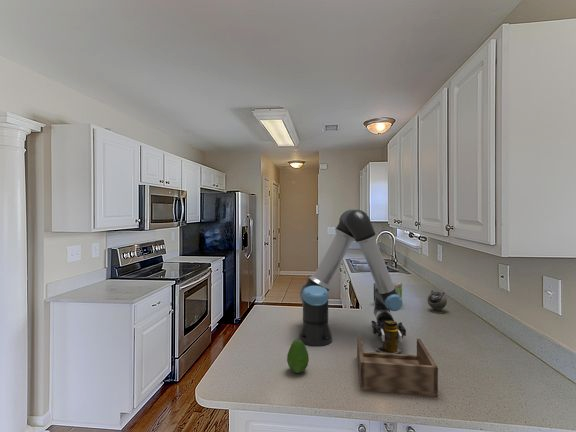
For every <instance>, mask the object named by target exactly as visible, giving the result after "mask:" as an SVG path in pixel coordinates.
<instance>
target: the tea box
mask: <svg viewBox="0 0 576 432" xmlns="http://www.w3.org/2000/svg"><path fill="white" fill-rule="evenodd" d="M392 282H393V284H394V287H395V289H396V292H397V294H398V295H399V296H400V298H401V299H402V300H403V283H402V282H395V281H392ZM373 306H374V307H375V282H374V283H373Z"/></svg>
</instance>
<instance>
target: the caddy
mask: <svg viewBox="0 0 576 432" xmlns="http://www.w3.org/2000/svg"><path fill="white" fill-rule="evenodd" d="M356 342H357V344H356V349H357V350H356V356H357V357H356V359H357V368H358V369H357V370H358V376H359V377H358V378H359V385H360V386H359V387H360V391H369V392H383V393H393V394H394V393H395V394H404V395H405V394H406V395H417V396H430V397H438V393H439V392H438V390H439V385H438V383H439V372H438V371H439V367H438V366H437V364H436V363H435V361H434V359H433V358H432V356H431V354H430V353H429V351H428V350H427V347H426V346H425V344H424V343H423V341H422V339H421V338H416V354H403V353H395V354H390V353H382V352H374V351H372V352H370V351H363V345H362V343H363V342H362V337H361V335H360V334H357V335H356Z"/></svg>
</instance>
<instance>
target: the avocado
mask: <svg viewBox="0 0 576 432" xmlns="http://www.w3.org/2000/svg"><path fill="white" fill-rule="evenodd" d="M286 355H287V356H286V362H287V365H288V367H289V368H290V370H291V371H292V372H293V373H296V374H300V373H302V372H304V371H305V370H306V369H307V367H308V365H309V361H310V357H309V352H308V349H307V347H306V344H304V343H303V342H302V341H301V340H299V338H298V339H294V340H293V341H292V342H291V344H290V347H289V349H288V353H287V354H286Z"/></svg>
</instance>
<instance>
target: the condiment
mask: <svg viewBox="0 0 576 432" xmlns="http://www.w3.org/2000/svg"><path fill="white" fill-rule="evenodd" d="M397 324H398V322H397V321H395V320H394V321H393V320H385V321H384V327H383V331H384V334H385V341H382V346H379V347H376V348H374V349H375V350H376V351H378V353H390V354H399V353H401V352H402V350H401V349H399V348H398V346H399V344H398V342H399V339H398V329H397Z"/></svg>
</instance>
